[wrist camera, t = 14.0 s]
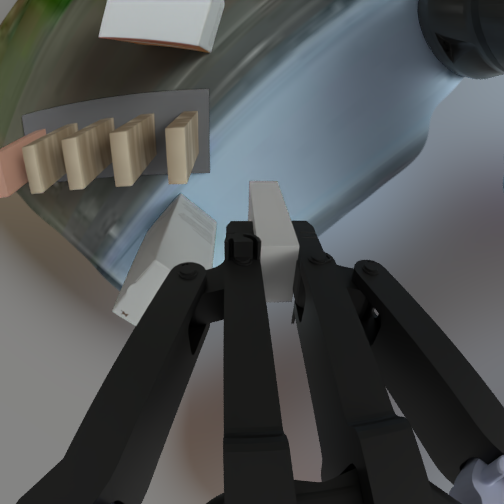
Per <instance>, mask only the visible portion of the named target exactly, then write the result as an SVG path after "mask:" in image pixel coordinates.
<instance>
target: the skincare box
mask: <svg viewBox="0 0 504 504" xmlns="http://www.w3.org/2000/svg"><path fill="white" fill-rule="evenodd" d="M216 227H217V222H216V221H215V220H214V219H213V218H211V217H210V216H209V215H208V214H206V213H205V212H204V211H203V210H201V209H200V208H199V207H198V206H196V205H195V204H194V203H193V202H191V201H190V200H189V199H188V198H186V197H185V196H184V195H183V194H181V193H180V194H179V195H178V196H177V197H176V198H175V200H174V201H173V202H172V203H171V204H170V205H169V206H168V207H167V209H166V210H165V211H164V212H163V213H162V214H161V216H160V217H159V218H158V219H157V220H156V222H155V223H154V224H153V225H152V226H151V228H150V229H149V230H148V232H147V233H146V235H145V237H144V239H143V242H142V244H141V246H140V248H139V250H138V252H137V255H136V257H135V259H134V261H133V263H132V266H131V268H130V270H129V272H128V275H127V277H126V279H125V282H124V284H123V286H122V289H121V291H120V293H119V296H118V298H117V301H116V303H115V305H114V308H113V311H112V312H114V313H115V314H117V315H118V316H120V317H121V318H123V319H125V320H126V321H128V322H130V323H131V324H133V325H135V326H136V325H137V324H138V322H139V320H140V319H141V317H142V315H143V314H144V312H145V311H146V309H147V307H148V306H149V304H150V302H151V301H152V299H153V298H154V296H155V294H156V293H157V291H158V290H159V288H160V286H161V285H162V283H163V282H164V280H165V279H166V277H167V275H168V274H169V272H170V271H171V269H172V268H173V267H174V266H176V265H178V264H180V263H185V262H195V263H198V264H201V265H202V266H203V267H204V268H205V270H208V269H212V266H213V256H214V246H215V236H216Z"/></svg>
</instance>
